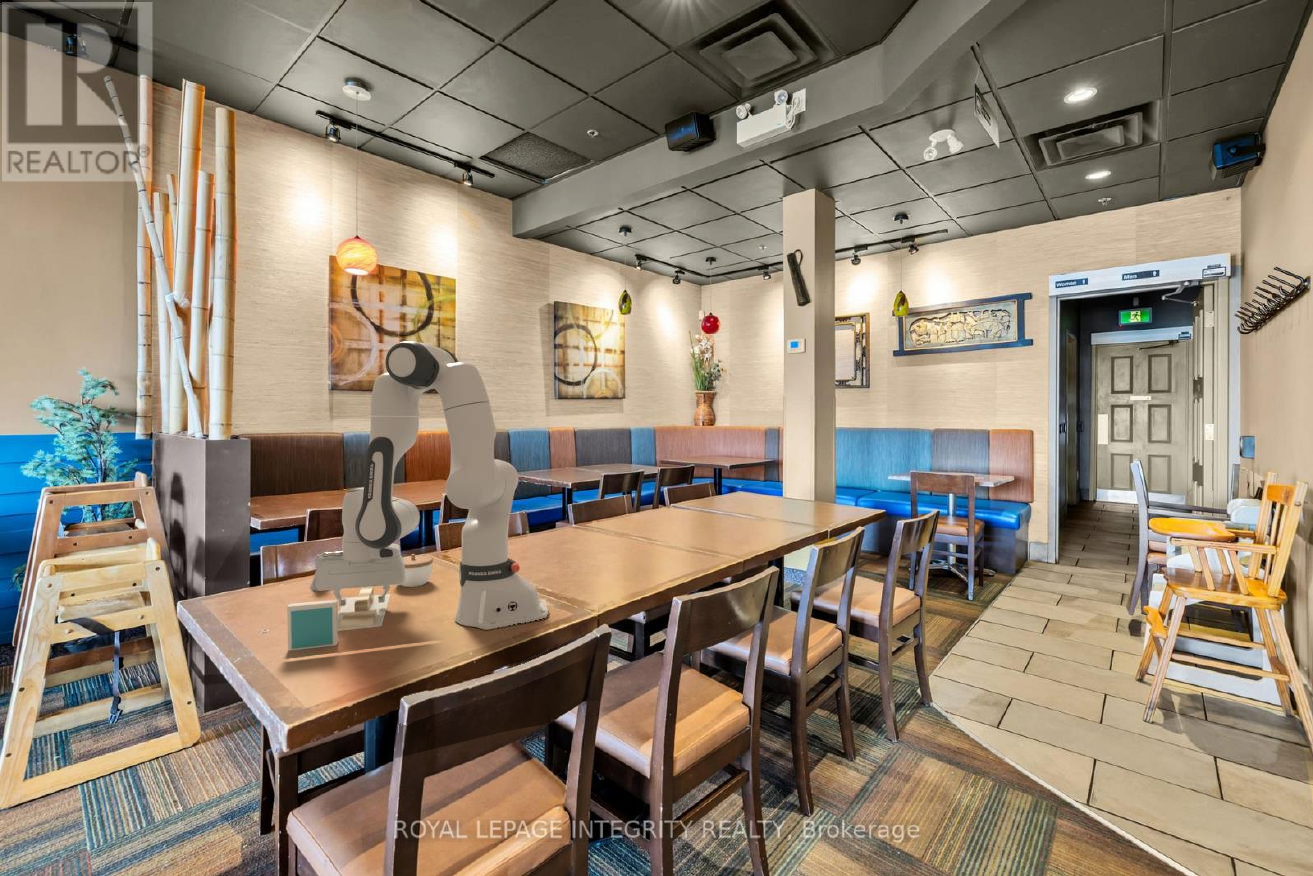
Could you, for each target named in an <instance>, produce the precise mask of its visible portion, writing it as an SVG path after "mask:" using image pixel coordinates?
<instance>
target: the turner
mask: <svg viewBox="0 0 1313 876" xmlns="http://www.w3.org/2000/svg"><path fill="white" fill-rule="evenodd" d="M374 595H375V594H374V586H372V587H360V590H359V593H358V595H357V596H356V597H357V599H356V601H355V611H354V612H345V614H344V616H343V618H342V620H341V622H340V628H342V627H351V626H361V625H370V624H373V623H374V620H375V617H376V613H377V609H374V610H369V608H370V606H371V603H372V600H373V597H374Z"/></svg>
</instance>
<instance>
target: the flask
mask: <svg viewBox="0 0 1313 876" xmlns="http://www.w3.org/2000/svg"><path fill="white" fill-rule="evenodd" d="M321 554H322V553H319V554H317V555H316V557H317V556H319V555H321ZM320 557H322V556H320ZM317 572H318V570H317V569H316V570H315V572H314V576H313V578H312V581H311V583H310V585H309V590H310V591H316V592H321V591H320V590H318V589H317V588H316V579H317Z"/></svg>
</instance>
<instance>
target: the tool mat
mask: <svg viewBox="0 0 1313 876" xmlns="http://www.w3.org/2000/svg"><path fill="white" fill-rule="evenodd" d="M379 595H380V594H374V597H373V600H372V603H371V606H370V608H369V610H374V609H377V613H376V617H375V620H374V623H373V624H370V625H361V626H351V627H342V628H340V622H341V620H342V618H343V616H344V614H345V612H354V611H355V601H356V599H357V597H358V596H351V597H350V596H349V597H346V606H340V609H339V611H338V632H340V631H350V630H358V629H367V628H370V629H371V628H379V627H383V626H382V625H383V622H384V618H385V616H386V613H387V609H388V606H389V601H390V597H391V593H387V594H386V595H385V602H384V603H378V600H379V599H378V596H379Z"/></svg>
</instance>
